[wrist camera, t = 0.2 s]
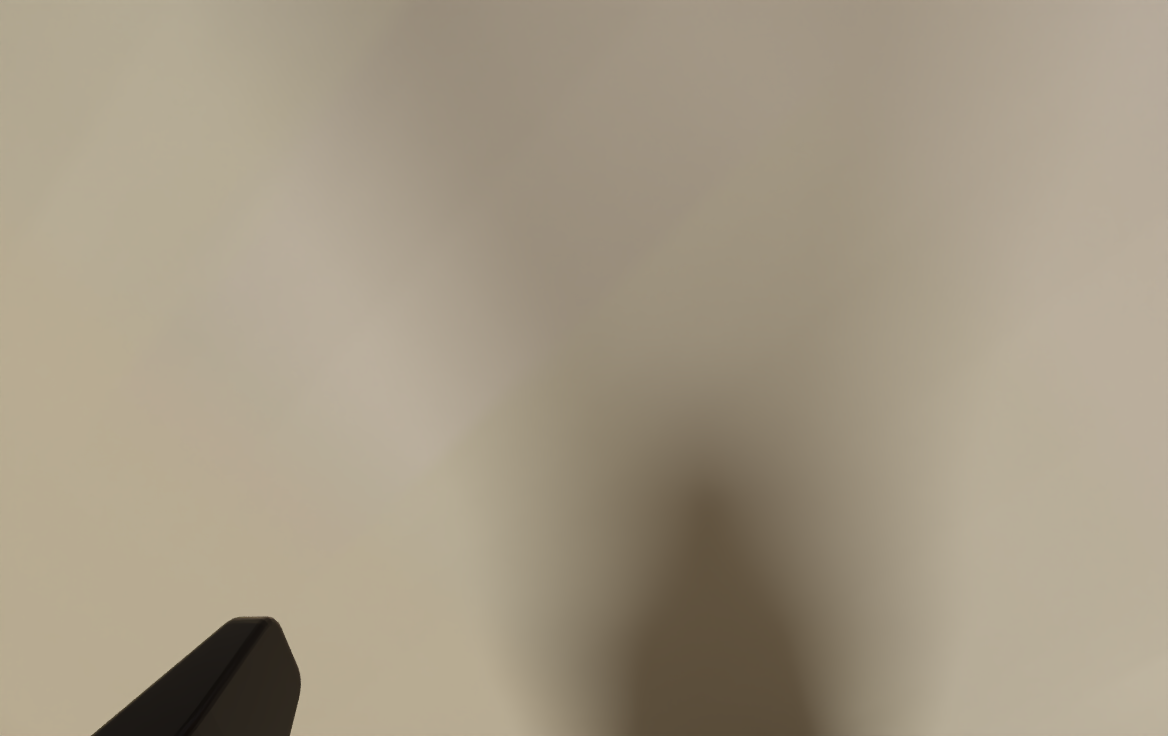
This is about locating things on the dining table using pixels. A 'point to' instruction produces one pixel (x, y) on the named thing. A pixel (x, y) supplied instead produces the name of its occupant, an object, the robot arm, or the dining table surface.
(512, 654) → the dining table surface
